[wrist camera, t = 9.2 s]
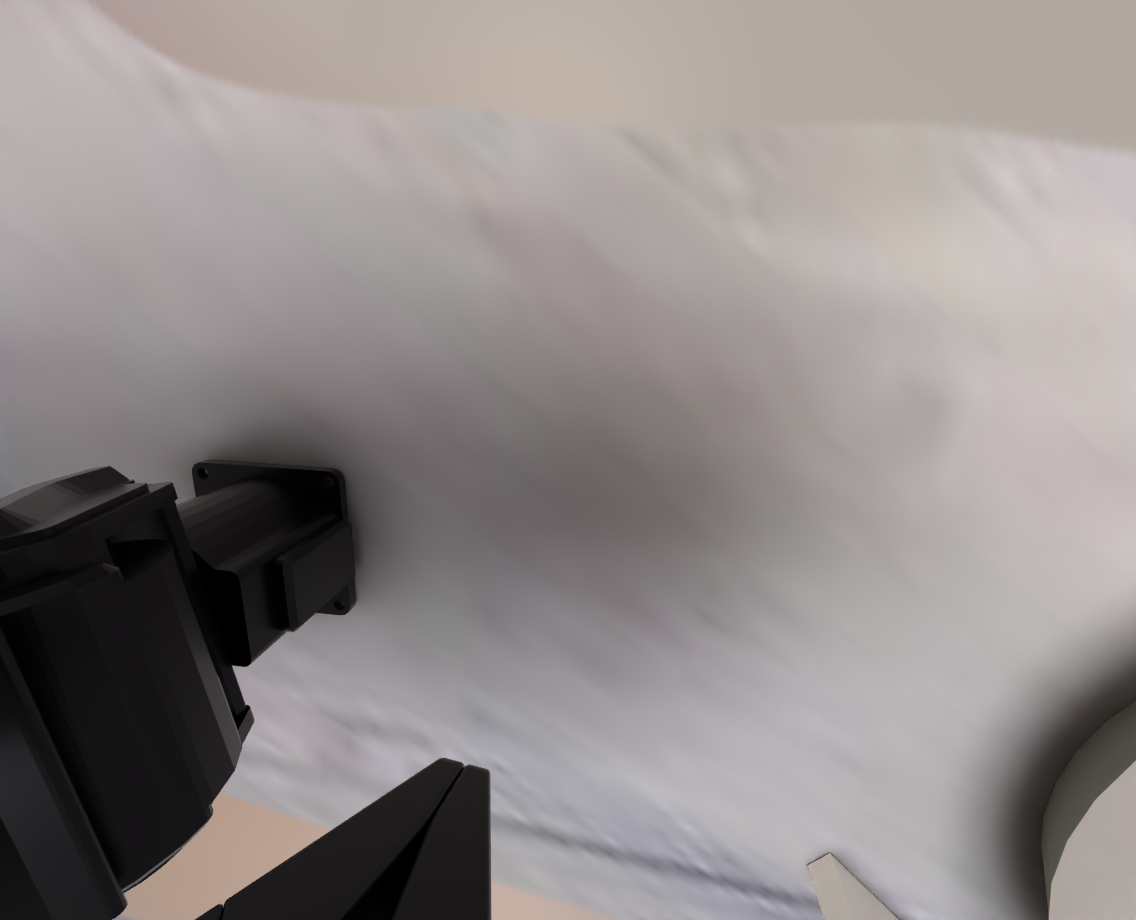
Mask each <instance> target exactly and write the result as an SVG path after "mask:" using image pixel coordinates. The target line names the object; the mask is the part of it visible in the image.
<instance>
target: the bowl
mask: <svg viewBox="0 0 1136 920" xmlns="http://www.w3.org/2000/svg"><path fill="white" fill-rule="evenodd" d="M1041 852H1042V857H1043V865H1044V875H1045V884H1046V894H1047V904H1048V913H1049V920H1136V701H1134V702H1133V703H1131V704H1130V705H1129V706H1127V707H1126V708H1124V709H1123V710H1122V711H1120V712H1119V713H1117V714H1116V715H1115V716H1113V717H1112V718H1110V719H1109V720H1108V721H1106V722H1105V723H1104V724H1103V725H1102V726H1101V727H1100V728H1099V729H1098V730H1097V731H1096V732H1095V733H1094V734H1093V735H1092V736H1091V737H1090V738H1089V739H1088V740H1087V741H1086V742H1085V743H1084V744H1083V745H1082V746H1081V747H1080V748H1079V749H1078V750H1077V751H1076V752H1075V754H1074V755H1073V757H1072V758H1071V760H1070V762H1069V763H1068V765H1067V766H1066V768H1065V769H1064V771H1063V772H1062V774H1061V775H1060V777H1059V779H1058V780H1057V782H1056V783H1055V785H1054V788H1053V790H1052V793H1051V796H1050V799H1049V802H1048V805H1047V807H1046V810H1045V813H1044V816H1043V825H1042V839H1041Z"/></svg>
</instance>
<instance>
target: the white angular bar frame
mask: <svg viewBox="0 0 1136 920" xmlns="http://www.w3.org/2000/svg"><path fill="white" fill-rule="evenodd" d="M808 868H809V872H810V875H811V878H812V881H813V885H814V888H815V891H816V894H817V898H818V901H819V904H820V907H821V911H822V914H823V917H824V920H899V919H898V918H897V917H896V916H894V915H893V914H892V913H891V912H890V911H889V910H888V909H887V908H886V907H885V906H884V905H883V904H882V903H881V902H880V901H879V900H878V899H877V898H876V897H875V896H874V895H873V894H872V893H871V892H870V891H869V890H867V889H866V888H865V887H864V886H863V885H862V884H861V883H860V882H859V881H858V880H857V879H856V878H855V877H854V876H853V875H852V874H851V873H850V872H849V871H848V870H847V869H846V868H845V867H844V866H843V865H842V864H840V863H839V862H838V861H837V860H836V859H835V858H834V857H833V856H832V855H831V854H830V853H829V854H827V855H825V856H824V857H822V858H820V859H818V860H816V861H815V862H813V863H811V864H809V865H808Z"/></svg>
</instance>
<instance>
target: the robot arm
mask: <svg viewBox="0 0 1136 920" xmlns="http://www.w3.org/2000/svg"><path fill="white" fill-rule="evenodd" d="M205 469H206V470H207V471H208V473H209V476H208V475H207V474H206V472H205ZM192 475H193V481H194V487H195V493H196V498H193V499H191V500H189V501H186V502H184V503H181V504H179V505H176V504H175V500H176V499H178V497H177V494H176V491H175V488H174V486H173V483H172V482H166V483H158V484H150V485H147V483H135V481H134V480H129V479H128V478H126V477H125V476H123V475H122V474H121V473H119V472H118V471H116V470H115V469H113V468H112V467H111V466H107V467H100V468H93V469H89V470H86V471H82V472H78V473H75V474H71V475H67V476H64V477H60V478H57V479H53V480H50V481H46V482H43V483H40V484H36V485H33V486H30V487H27V488H25V489H22V490H19V491H17V492H15V493H13V494H10V495H8V496H6V497H4V498H2V499H0V920H112V919H114V918H116V917H117V916H118V915H120V914H121V913H122V912H123V911H124V909H125V908H126V906H127V900H126V898H125V896H124V893H125V892H126V891H128V890H130V889H131V888H133V887H135V886H136V885H138V884H139V883H141V882H143V881H144V880H145V879H147V878H148V877H149V876H151V875H152V874H153V873H155V872H156V871H157V870H159V869H160V868H161V867H162V866H163V865H165V864H166V863H167V862H168V861H169V860H170V859H171V858H172V857H174V856H175V855H176V854H177V853H178V852H179V851H180V850H181V849H182V848H183V847H184V846H185V845H186V844H187V843H188V842H189V841H190V840H191V839H192V838H193V837H194V836H195V835H196V834H197V833H198V832H199V831H200V830H201V829H202V828H203V827H204V826H205V825H206V823H207V822H208V821H209V819H210V818H211V816H212V814H213V808H212V806H211V805H212V803H213V800H214V799H215V798H216V796H217V795H218V794H219V792H220V791H221V789H222V788H223V786H224V785H225V784H226V782H227V781H228V779H229V778H230V776H231V775H232V774H233V772H234V771H235V768H236V765H237V762H238V759H239V756H240V752H241V749H242V744H243V742H244V740H245V738H246V736H247V734H248V733H249V731H250V729H251V727H252V725H253V723H254V717H253V714H252V711H251V708H250V706H248V705H245V702H244V699H243V696H242V693H241V690H240V688H239V685H238V682H237V679H236V676H235V673H234V670H233V667H232V665H234V666H242V667H245V666H249V665H250V664H251V663H252V662H253V661H254V660H256V659H257V658H258V657H259V656H260V655H261V654H262V653H263V652H264V651H266V650H267V649H268V648H269V647H270V646H271V645H272V644H273V643H275V642H276V641H277V640H278V639H279V638H280V637H281V636H282V635H284V634H285V633H286V632H287V631H288V632H294V631H296V630H297V629H298V628H300V627H301V626H302V625H303V624H304V623H305V622H306V621H307V620H308V619H309V618H310V617H312V616H313V615H314V614H315V613H324V614H333V615H345V614H347V613H348V612H349V611H350V610H351V609H352V608H353V606H354V604H355V597H354V585H353V578H354V577H355V566H354V554H353V542H352V530H351V523H350V522H349V520H348V514H347V502H346V490H345V480H344V477H343V475H342V474H341V472H339V471H338V470H336V469H333V468H320V467H305V466H291V465H276V464H262V463H247V462H233V461H218V460H205V461H202V462H199V463H196V464H195V465H194V466H193V468H192ZM328 477H329V478H331V479H332V480H333V483H334V485H333V486H332V485H330V484H329V483H328V480H327V478H328ZM338 599H339V600H342V601H343V602H344V605H342V604H341V603H340V602H339V600H338ZM196 920H491V811H490V772H489V770H487V769H484V768H481V767H477V766H473V765H467V766H464V764H463V763H462V762H458V761H455V760H451V759H447V758H440V759H438V760H436V761H435V762H433V763H432V764H430V765H429V766H427V767H426V768H424V769H423V770H421V771H420V772H418V773H417V774H415V775H414V776H412V777H411V778H409V779H408V780H406V781H405V782H403V783H402V784H400V785H399V786H397V787H396V788H394V789H393V790H391V791H390V792H388V793H387V794H385V795H384V796H382V797H381V798H379V799H378V800H376V801H375V802H373V803H372V804H370V805H369V806H367V807H366V808H364V809H363V810H361V811H360V812H358V813H357V814H355V815H354V816H352V817H351V818H349V819H348V820H346V821H345V822H343V823H342V824H340V825H339V826H337V827H336V828H334V829H333V830H331V831H330V832H328V833H327V834H325V835H323V836H322V837H320V838H319V839H317V840H316V841H314V842H313V843H311V844H310V845H308V846H307V847H306V848H304V849H302V850H301V851H299V852H298V853H296V854H295V855H293V856H292V857H290V858H289V859H287V860H286V861H284V862H283V863H281V864H280V865H278V866H277V867H275V868H274V869H272V870H271V871H269V872H268V873H266V874H265V875H263V876H262V877H260V878H259V879H257V880H256V881H254V882H253V883H251V884H250V885H248V886H247V887H245V888H244V889H242V890H241V891H239V892H238V893H236V894H235V895H233V896H232V897H230V898H229V899H227V900H226V902H225V904H224V908H223V905H221V904H218V905H217V906H215V907H213V908H212V909H210V910H209V911H207V912H206V913H204V914H203V915H201V916H200V917H199V918H197V919H196Z"/></svg>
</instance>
